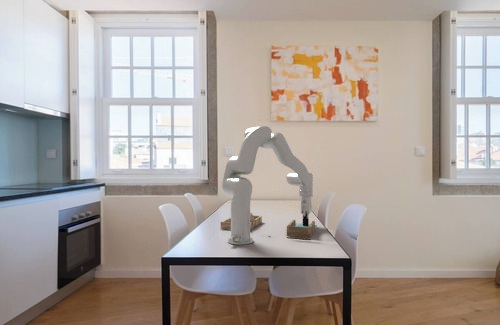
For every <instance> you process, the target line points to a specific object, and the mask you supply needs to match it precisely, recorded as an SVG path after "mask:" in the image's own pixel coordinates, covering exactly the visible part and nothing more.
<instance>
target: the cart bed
mask: <svg viewBox="0 0 500 325" xmlns="http://www.w3.org/2000/svg"><path fill="white" fill-rule="evenodd" d="M296 221H297V220H296V219H292V220H291V222H289V223H288V224H287V226H286V239H291V240H303V241H311V238H312V236H313V234H314V233H315V231H316V229H315V225H316V221H315V220H312V221H311V223H309V224H310V226H309V227H298V226H296Z"/></svg>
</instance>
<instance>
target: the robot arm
mask: <svg viewBox="0 0 500 325" xmlns="http://www.w3.org/2000/svg"><path fill="white" fill-rule="evenodd" d="M243 136H244V139H243V141H242V143H241V145H240V148H239V153H238V155H235V156H234V155H233V156H231V157H230V158H229V159H228V160H227V163H226V165H225V169H224V173H223V178H222V182H221V183H222V185H221V187H222V191H223V192H224V193H225V194H227V195H228V196H229V195H230V196H232V198H231V199H232V200H231V202H230V217H231V230H230V237H228V238H227V242H228V243H229V244H231V245H237V246H239V245H240V246H242V245H244V246H245V245H250V244H252V243H254V238H253V237H251V230H250V212H251V199H252V198H251V197H252V193H253V184H252V181H250V180H249V179H248V178H246V177H245V176H246V175H247V176H248V175H250V174H252V172H253V171H254V167H255V162H256V159H257V154H258V150H259V148H263V149H272V151H273V152H274V154H275V156H276V158H277V161H278V162H279V163H280V164H281V165H283V166H286V167H288V168H289V169H291V170H293V171H292V172H290V173H288V174H287V176H286V180H285V181H286V182H287V184H289V185H290V186H296V187H297V186H298V187H299V192H298V193H299V194H298V196H299V197H300V214H301V215H302V224H303V226H308V225H309V224H310V222H309V221H310V220H309V215H311V214H312V197H313V190H314V189H313V186H314V183H313V181H314V179H313V178H314V177H313V176H314V175H313V172H309V171H308V168H307V167H306V165H305V164H304V163H303V162H302V161H301V160H300V159H299V158H298V157H297V156H296V155H294V153H293V152H292V150H291V148H290V146H289V144H288V141H287V139H286V137H285V136H284V134H283V133H281V132H273V131H272V129H271V127H269V126H267V125H262V126H260V125H259V126H254V127H249V128H247V129H246V130H245V132H244V135H243ZM242 175H243V177H242Z"/></svg>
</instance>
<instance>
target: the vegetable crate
mask: <svg viewBox="0 0 500 325" xmlns="http://www.w3.org/2000/svg"><path fill="white" fill-rule="evenodd" d="M253 216H254V220H253V221H251V222H250V231H251V230H252V229H254V228H255V227H257V226H259V225H261V223H262V221H263V216H262V215H253ZM220 229H221V230H227V229H228V231H231V216H230V217H228V218H226V219H224V220H222V221H220Z"/></svg>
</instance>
